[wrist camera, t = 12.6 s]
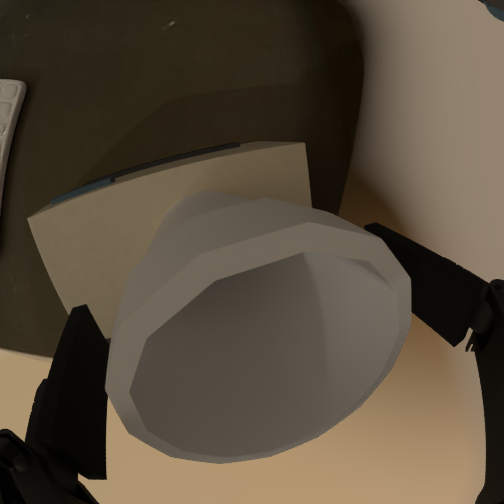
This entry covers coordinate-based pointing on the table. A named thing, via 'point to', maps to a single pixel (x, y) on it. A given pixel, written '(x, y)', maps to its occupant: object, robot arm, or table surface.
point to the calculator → (8, 120)
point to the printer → (149, 214)
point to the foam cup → (253, 328)
